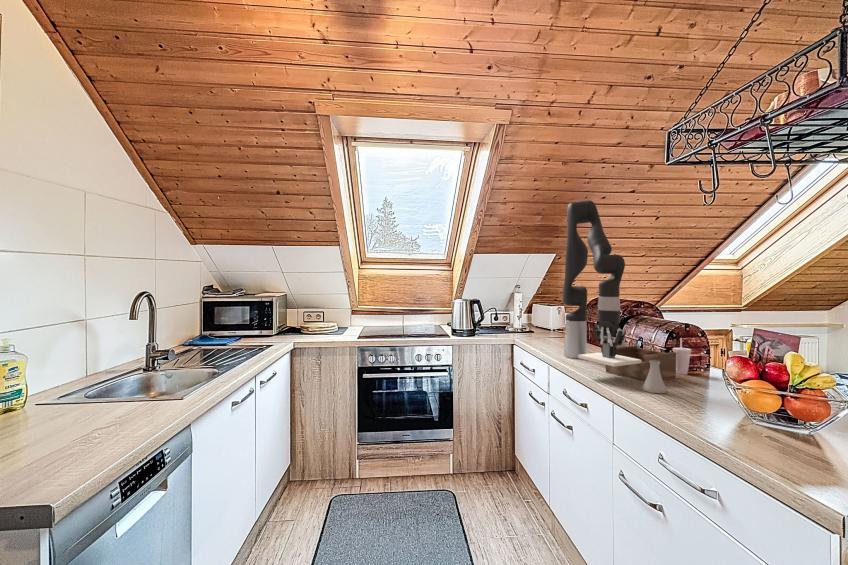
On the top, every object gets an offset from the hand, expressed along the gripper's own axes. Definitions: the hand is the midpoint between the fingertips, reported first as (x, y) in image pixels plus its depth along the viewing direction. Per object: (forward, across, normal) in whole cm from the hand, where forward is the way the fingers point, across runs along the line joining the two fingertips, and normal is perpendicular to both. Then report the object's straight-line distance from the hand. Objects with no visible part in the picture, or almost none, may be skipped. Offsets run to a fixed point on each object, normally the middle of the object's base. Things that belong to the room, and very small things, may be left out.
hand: (608, 355), depth 158 cm
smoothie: (+9, +5, +33) cm, 35 cm away
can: (+9, -17, +22) cm, 29 cm away
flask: (+9, +18, +1) cm, 20 cm away
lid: (+2, 0, 0) cm, 2 cm away
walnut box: (+9, 0, +16) cm, 18 cm away
